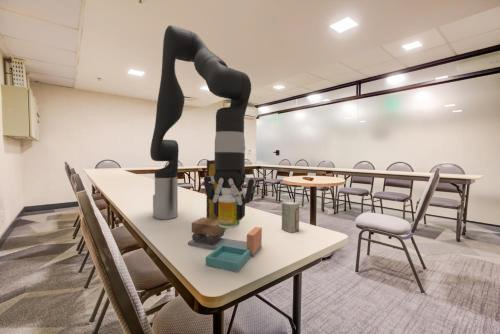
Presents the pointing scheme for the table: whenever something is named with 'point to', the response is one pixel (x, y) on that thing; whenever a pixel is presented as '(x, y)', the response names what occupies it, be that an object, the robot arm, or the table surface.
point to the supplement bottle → (227, 209)
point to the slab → (207, 230)
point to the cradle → (228, 257)
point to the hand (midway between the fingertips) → (229, 217)
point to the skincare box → (290, 216)
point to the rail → (234, 242)
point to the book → (209, 202)
